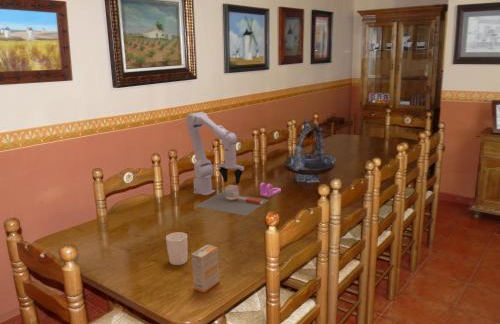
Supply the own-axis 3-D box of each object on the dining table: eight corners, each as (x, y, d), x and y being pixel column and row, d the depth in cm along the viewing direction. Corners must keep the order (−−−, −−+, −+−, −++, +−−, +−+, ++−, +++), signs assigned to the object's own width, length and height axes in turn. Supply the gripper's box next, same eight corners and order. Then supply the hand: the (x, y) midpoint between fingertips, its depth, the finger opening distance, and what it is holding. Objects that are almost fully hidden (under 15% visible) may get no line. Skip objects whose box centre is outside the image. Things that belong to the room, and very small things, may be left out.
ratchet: (223, 200, 232) (222, 191, 231) (230, 196, 238) (229, 187, 237) (258, 206, 222) (258, 196, 221) (265, 201, 228) (265, 192, 227)
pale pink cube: (225, 196, 232) (224, 187, 231) (230, 193, 236) (230, 184, 235) (233, 197, 230) (233, 188, 228) (238, 194, 234) (238, 185, 232)
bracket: (268, 197, 235) (268, 185, 233) (260, 195, 239) (259, 183, 237) (282, 191, 245) (282, 179, 243) (274, 189, 248) (274, 177, 247)
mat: (194, 206, 225) (194, 206, 225) (220, 192, 245) (220, 192, 245) (245, 216, 211) (245, 215, 211) (269, 200, 231) (269, 199, 231)
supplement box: (209, 278, 155) (207, 243, 152) (220, 282, 153) (218, 247, 149) (193, 289, 149) (190, 253, 146) (204, 293, 146) (201, 256, 143)
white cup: (168, 257, 172) (166, 232, 170) (189, 255, 173) (187, 231, 170) (167, 266, 165) (164, 241, 162) (188, 265, 165) (186, 240, 163)
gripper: (214, 157, 228) (215, 182, 231) (238, 160, 221) (239, 186, 224) (221, 154, 234) (223, 179, 237) (245, 156, 227) (246, 182, 230)
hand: (231, 182), depth 231 cm, fingers open, 7 cm apart
